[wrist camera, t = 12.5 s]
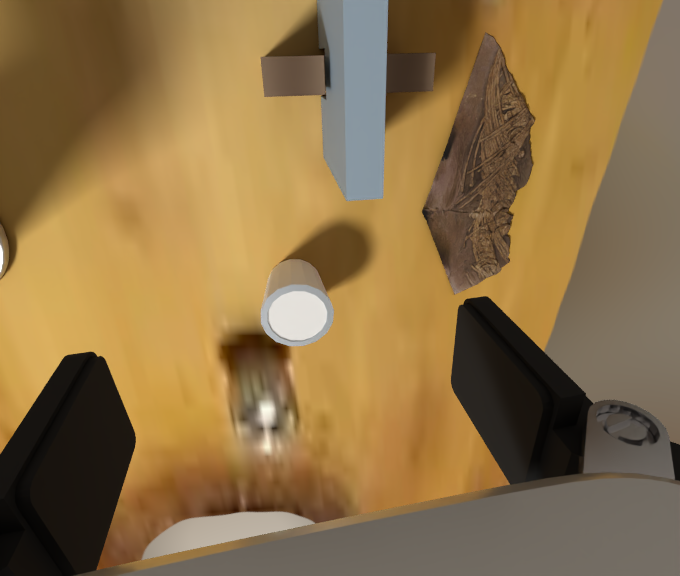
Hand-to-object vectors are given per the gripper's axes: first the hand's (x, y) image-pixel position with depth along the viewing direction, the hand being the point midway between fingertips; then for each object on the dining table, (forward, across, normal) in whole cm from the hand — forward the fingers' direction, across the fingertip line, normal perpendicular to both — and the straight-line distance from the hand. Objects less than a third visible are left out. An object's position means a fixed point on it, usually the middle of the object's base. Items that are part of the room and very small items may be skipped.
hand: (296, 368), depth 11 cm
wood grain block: (+31, -7, -6) cm, 32 cm away
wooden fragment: (+31, -21, +4) cm, 37 cm away
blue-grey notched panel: (+31, -6, -6) cm, 32 cm away
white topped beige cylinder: (+31, -1, +14) cm, 34 cm away
